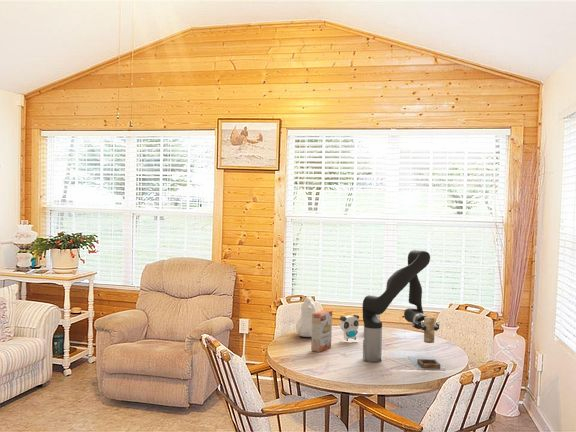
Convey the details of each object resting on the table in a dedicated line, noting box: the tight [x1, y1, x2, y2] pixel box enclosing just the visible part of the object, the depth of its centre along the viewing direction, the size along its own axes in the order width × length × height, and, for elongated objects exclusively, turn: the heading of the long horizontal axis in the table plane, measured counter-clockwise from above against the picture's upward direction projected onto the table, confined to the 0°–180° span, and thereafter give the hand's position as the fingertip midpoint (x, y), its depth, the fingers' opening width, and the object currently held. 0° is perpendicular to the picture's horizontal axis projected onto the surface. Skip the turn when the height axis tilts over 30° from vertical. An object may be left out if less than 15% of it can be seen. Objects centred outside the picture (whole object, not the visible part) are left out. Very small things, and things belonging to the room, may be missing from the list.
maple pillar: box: [423, 316, 436, 344], centre depth 267 cm, size 5×5×12 cm
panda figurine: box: [339, 314, 360, 341], centre depth 319 cm, size 12×11×15 cm
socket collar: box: [417, 358, 441, 370], centre depth 267 cm, size 9×9×2 cm
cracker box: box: [310, 309, 333, 353], centre depth 299 cm, size 14×6×21 cm, turn 149°
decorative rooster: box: [295, 296, 317, 338], centre depth 332 cm, size 25×16×25 cm, turn 170°
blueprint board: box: [406, 355, 446, 371], centre depth 273 cm, size 14×22×1 cm, turn 1°
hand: (430, 328), depth 265 cm, fingers closed on maple pillar, 5 cm apart
